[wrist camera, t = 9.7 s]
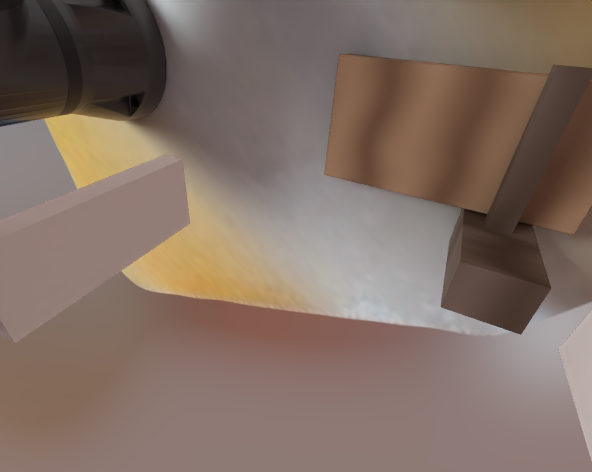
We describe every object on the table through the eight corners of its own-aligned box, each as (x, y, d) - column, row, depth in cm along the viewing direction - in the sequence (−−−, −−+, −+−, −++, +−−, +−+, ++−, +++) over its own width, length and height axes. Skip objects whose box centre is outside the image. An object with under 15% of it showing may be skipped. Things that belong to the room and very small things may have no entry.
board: (332, 167, 33) (324, 174, 31) (348, 53, 27) (339, 54, 25) (566, 221, 26) (573, 234, 24) (648, 85, 21) (665, 89, 19)
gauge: (446, 248, 31) (436, 317, 23) (520, 60, 22) (543, 68, 15) (504, 265, 29) (514, 344, 22) (607, 68, 21) (686, 83, 13)
